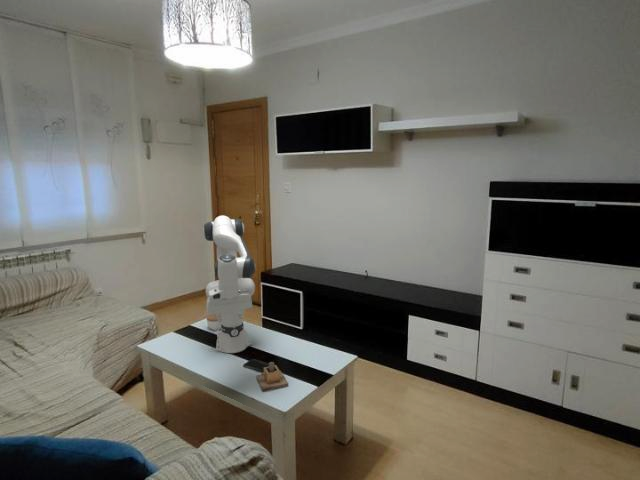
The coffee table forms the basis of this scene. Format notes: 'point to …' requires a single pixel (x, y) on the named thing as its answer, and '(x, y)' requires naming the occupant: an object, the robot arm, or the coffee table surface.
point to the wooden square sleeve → (271, 375)
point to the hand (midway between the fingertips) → (230, 320)
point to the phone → (256, 365)
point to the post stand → (271, 386)
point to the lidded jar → (214, 322)
